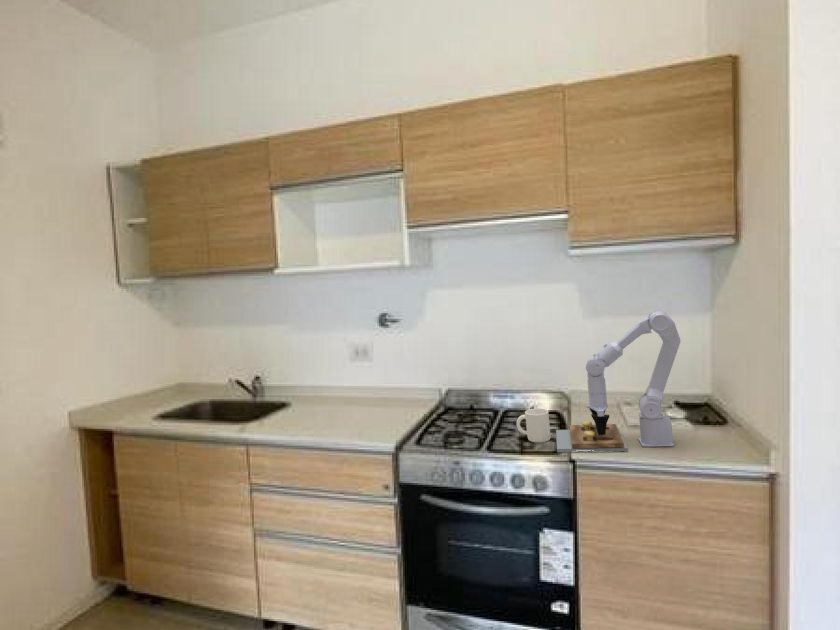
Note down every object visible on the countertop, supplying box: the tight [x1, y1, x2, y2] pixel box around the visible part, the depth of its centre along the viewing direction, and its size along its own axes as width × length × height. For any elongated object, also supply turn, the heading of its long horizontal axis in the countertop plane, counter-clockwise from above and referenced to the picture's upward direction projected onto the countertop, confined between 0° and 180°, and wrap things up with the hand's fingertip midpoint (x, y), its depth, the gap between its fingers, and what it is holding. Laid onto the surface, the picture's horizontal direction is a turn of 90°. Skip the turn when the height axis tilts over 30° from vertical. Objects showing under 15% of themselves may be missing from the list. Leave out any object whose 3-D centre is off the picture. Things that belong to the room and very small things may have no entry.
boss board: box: [555, 420, 629, 453], centre depth 166 cm, size 22×20×5 cm
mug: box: [516, 408, 551, 444], centre depth 175 cm, size 12×8×10 cm
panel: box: [569, 423, 624, 448], centre depth 165 cm, size 16×20×5 cm
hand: (600, 430), depth 165 cm, fingers open, 7 cm apart
